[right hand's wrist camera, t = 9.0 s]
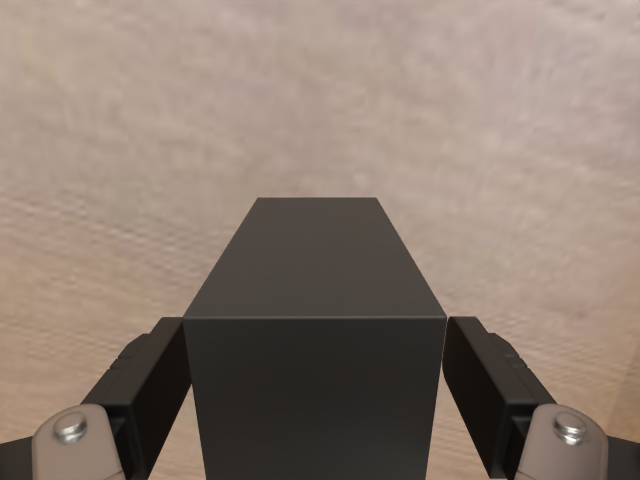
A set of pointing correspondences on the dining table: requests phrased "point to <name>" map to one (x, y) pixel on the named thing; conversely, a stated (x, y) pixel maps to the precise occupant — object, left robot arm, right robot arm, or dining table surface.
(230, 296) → the bar
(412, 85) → the dining table surface
